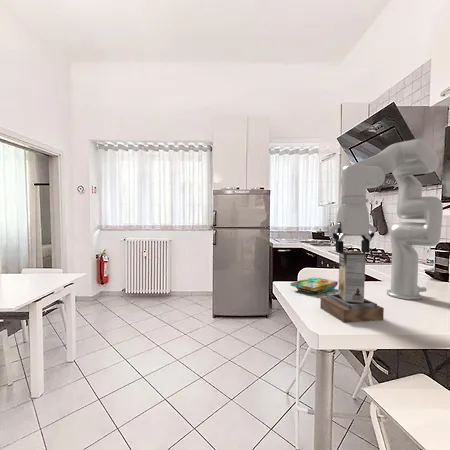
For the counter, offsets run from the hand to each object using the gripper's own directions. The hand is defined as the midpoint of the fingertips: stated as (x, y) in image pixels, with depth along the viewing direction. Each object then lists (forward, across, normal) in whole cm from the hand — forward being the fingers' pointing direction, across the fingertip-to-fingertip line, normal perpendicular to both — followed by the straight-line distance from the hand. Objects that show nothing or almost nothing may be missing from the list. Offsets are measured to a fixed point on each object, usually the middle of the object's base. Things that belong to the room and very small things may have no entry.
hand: (352, 252), depth 94 cm
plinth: (+21, +1, 0) cm, 21 cm away
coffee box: (+16, 0, 0) cm, 16 cm away
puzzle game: (+22, -3, -31) cm, 38 cm away
